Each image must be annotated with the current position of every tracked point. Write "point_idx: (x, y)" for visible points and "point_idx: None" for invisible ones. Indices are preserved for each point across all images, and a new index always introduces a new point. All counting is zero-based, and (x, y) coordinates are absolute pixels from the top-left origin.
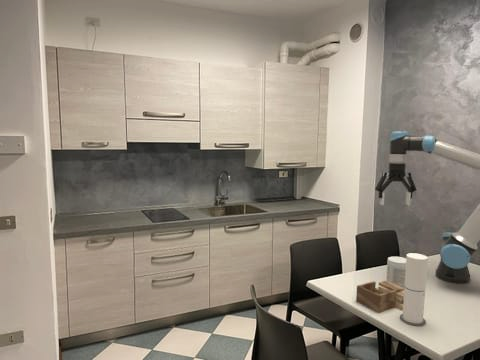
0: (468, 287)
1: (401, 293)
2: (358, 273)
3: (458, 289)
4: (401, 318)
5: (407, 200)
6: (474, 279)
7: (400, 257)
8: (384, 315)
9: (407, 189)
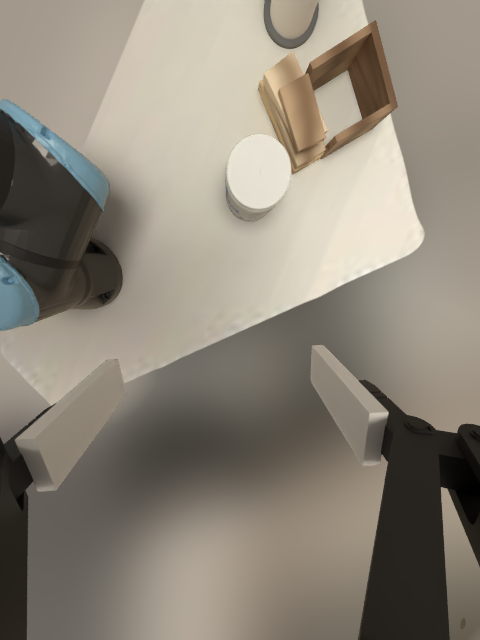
0: None
1: (290, 75)
2: (296, 295)
3: None
4: (317, 12)
5: (104, 395)
6: None
7: (243, 196)
8: None
9: (23, 511)
